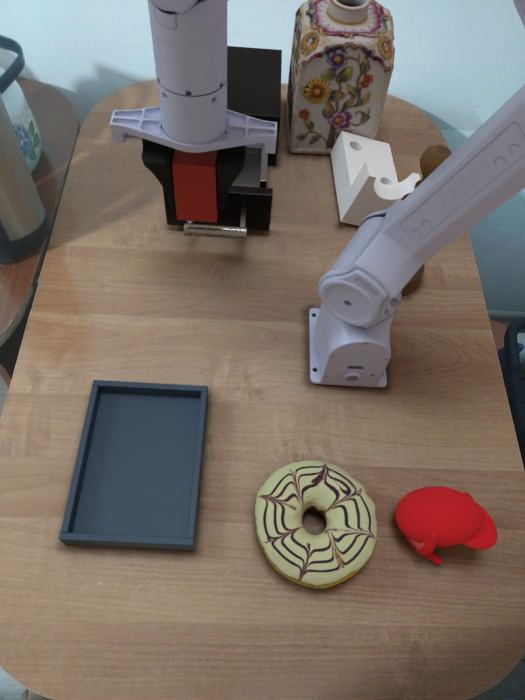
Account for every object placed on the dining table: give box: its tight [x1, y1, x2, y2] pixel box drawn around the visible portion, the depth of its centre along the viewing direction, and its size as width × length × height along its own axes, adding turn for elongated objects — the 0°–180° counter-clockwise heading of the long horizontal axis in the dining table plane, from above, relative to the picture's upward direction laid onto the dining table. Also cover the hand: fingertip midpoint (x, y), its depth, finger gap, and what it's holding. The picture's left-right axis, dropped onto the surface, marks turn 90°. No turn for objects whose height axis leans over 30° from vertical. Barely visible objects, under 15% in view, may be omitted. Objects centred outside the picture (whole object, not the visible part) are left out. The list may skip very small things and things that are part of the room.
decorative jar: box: [286, 0, 396, 156], centre depth 72 cm, size 12×12×18 cm
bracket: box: [330, 131, 422, 227], centre depth 71 cm, size 13×7×8 cm, turn 2°
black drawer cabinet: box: [227, 45, 283, 167], centre depth 76 cm, size 15×14×8 cm
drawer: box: [162, 147, 274, 240], centre depth 68 cm, size 18×12×6 cm
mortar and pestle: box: [401, 143, 453, 296], centre depth 59 cm, size 7×6×18 cm
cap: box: [394, 485, 499, 566], centre depth 48 cm, size 8×6×6 cm
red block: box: [172, 149, 218, 222], centre depth 55 cm, size 4×4×7 cm
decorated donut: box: [254, 459, 378, 589], centre depth 49 cm, size 10×11×4 cm
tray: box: [58, 379, 209, 552], centre depth 52 cm, size 15×11×2 cm
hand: (198, 201), depth 57 cm, fingers closed on red block, 4 cm apart
